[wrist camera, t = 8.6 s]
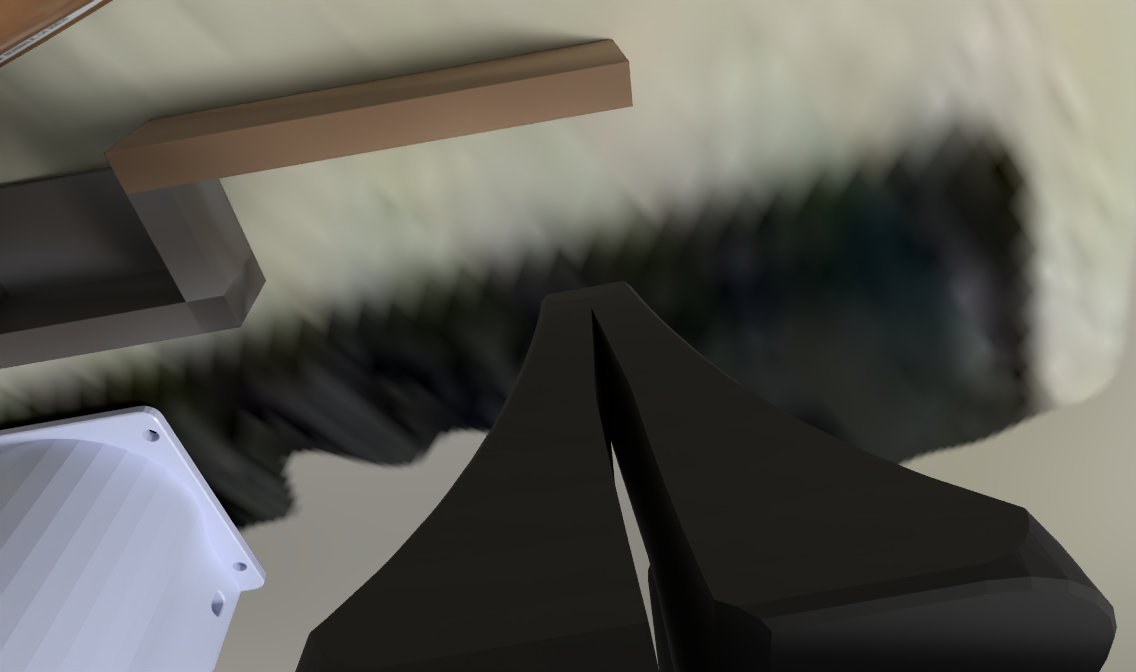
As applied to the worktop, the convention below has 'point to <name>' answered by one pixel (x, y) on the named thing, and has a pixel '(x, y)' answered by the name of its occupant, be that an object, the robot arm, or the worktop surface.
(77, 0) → the tin
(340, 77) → the worktop surface
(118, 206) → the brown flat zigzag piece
